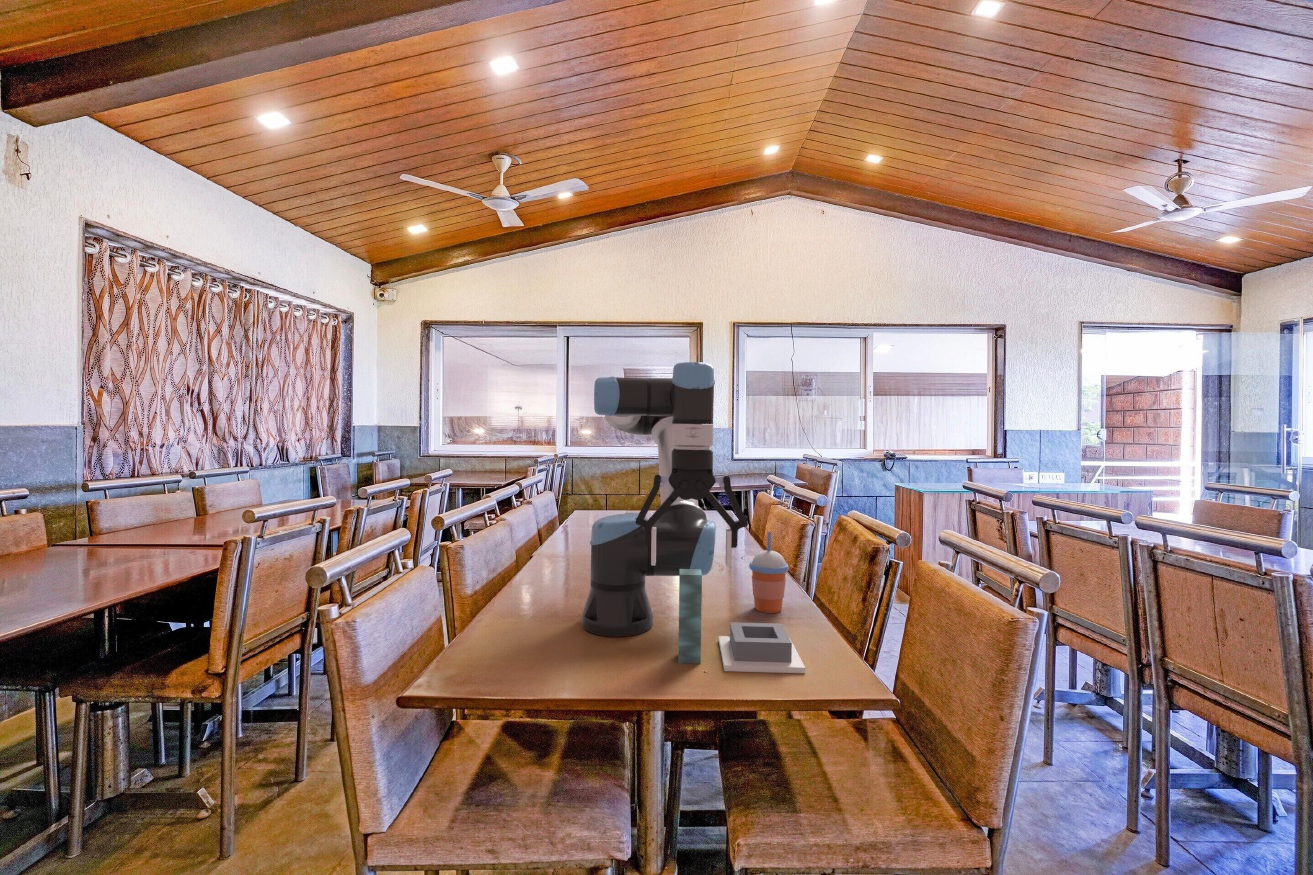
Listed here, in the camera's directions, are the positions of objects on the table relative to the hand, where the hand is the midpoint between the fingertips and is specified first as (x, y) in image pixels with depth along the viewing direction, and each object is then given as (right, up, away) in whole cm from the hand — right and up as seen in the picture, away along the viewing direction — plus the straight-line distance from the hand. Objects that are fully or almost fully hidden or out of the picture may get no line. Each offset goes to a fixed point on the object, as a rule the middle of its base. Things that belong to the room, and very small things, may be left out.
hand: (690, 564), depth 106 cm
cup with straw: (+20, -17, +30) cm, 40 cm away
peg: (0, -17, +1) cm, 17 cm away
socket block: (+13, -18, +2) cm, 22 cm away
